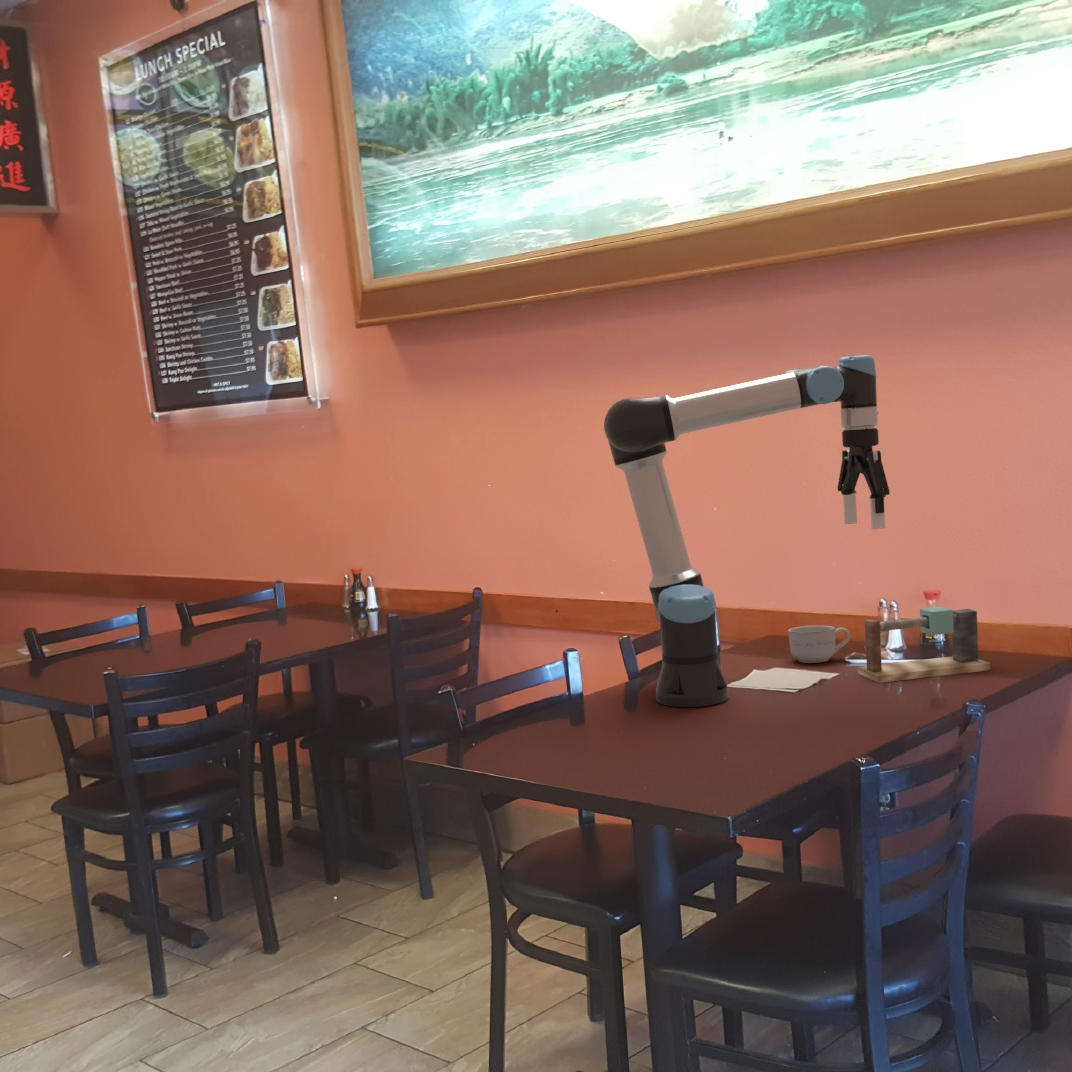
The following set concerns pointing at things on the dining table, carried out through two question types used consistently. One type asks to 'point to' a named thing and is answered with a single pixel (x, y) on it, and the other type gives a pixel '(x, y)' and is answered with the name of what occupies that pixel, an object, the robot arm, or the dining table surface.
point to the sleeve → (937, 620)
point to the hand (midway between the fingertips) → (864, 526)
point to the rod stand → (956, 664)
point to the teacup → (815, 642)
